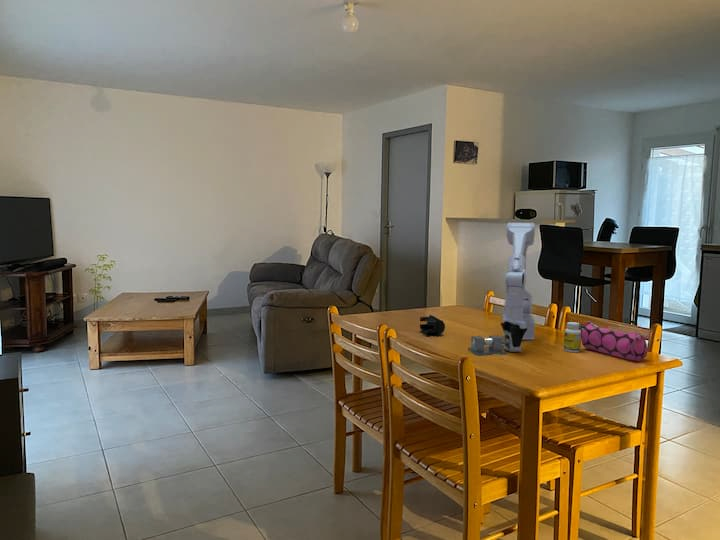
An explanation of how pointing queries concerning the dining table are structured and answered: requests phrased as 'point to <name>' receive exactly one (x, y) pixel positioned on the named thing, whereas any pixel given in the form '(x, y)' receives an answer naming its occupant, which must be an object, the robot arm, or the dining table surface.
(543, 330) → the dining table surface
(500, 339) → the shaft stand
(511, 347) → the collar
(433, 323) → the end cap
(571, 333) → the supplement bottle
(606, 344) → the pencil case
